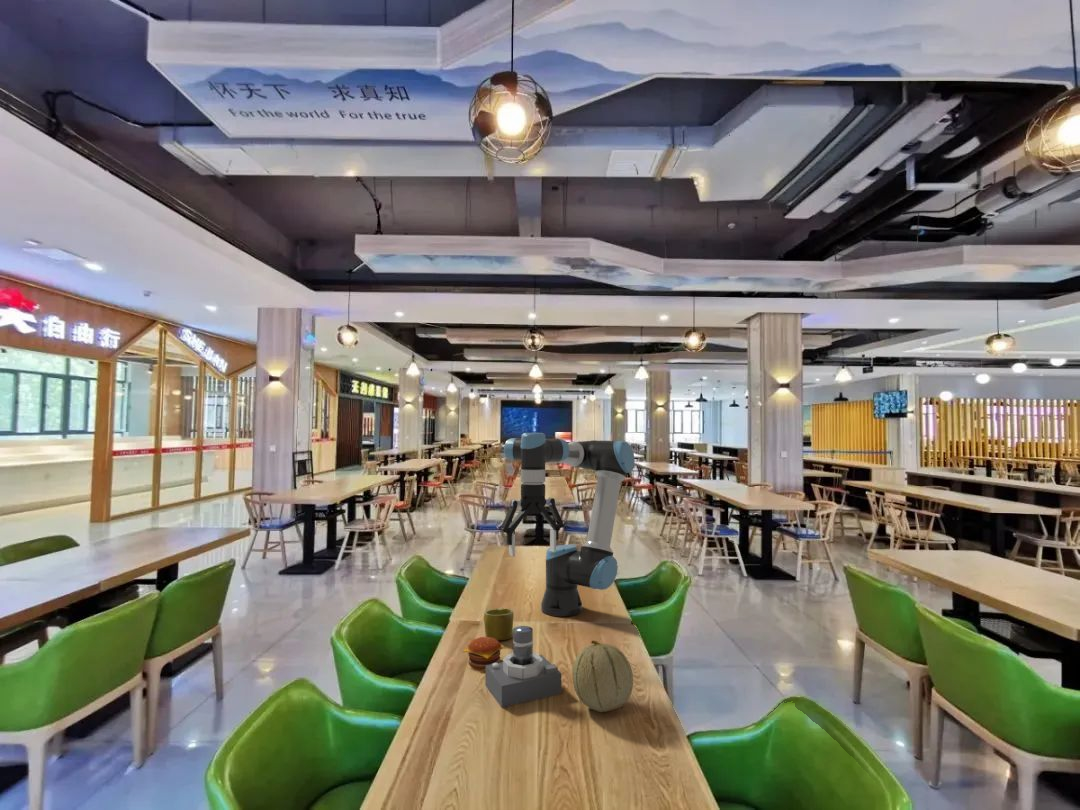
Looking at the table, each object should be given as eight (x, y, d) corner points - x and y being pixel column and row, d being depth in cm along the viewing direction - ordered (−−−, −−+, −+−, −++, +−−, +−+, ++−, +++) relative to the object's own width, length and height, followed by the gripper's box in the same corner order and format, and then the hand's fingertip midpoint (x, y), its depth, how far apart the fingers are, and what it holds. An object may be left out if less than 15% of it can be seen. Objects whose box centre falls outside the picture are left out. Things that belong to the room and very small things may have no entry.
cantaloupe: (618, 732, 116) (618, 662, 117) (560, 712, 124) (560, 647, 124) (643, 702, 128) (642, 639, 129) (589, 686, 136) (588, 627, 137)
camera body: (541, 673, 143) (541, 645, 144) (561, 693, 133) (561, 663, 133) (485, 685, 137) (485, 655, 137) (501, 707, 126) (501, 675, 126)
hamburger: (489, 673, 144) (489, 648, 144) (461, 665, 149) (461, 641, 149) (507, 659, 152) (507, 636, 153) (480, 652, 157) (480, 630, 157)
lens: (528, 663, 138) (527, 623, 139) (536, 671, 134) (536, 630, 134) (510, 667, 136) (509, 627, 136) (517, 675, 132) (517, 634, 132)
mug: (513, 639, 162) (505, 606, 165) (483, 647, 164) (475, 614, 167) (524, 632, 173) (517, 601, 176) (496, 640, 175) (489, 609, 178)
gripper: (563, 480, 170) (563, 547, 169) (490, 483, 159) (489, 554, 158) (574, 482, 163) (575, 552, 162) (498, 486, 152) (498, 560, 152)
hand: (532, 553), depth 160 cm, fingers open, 13 cm apart
